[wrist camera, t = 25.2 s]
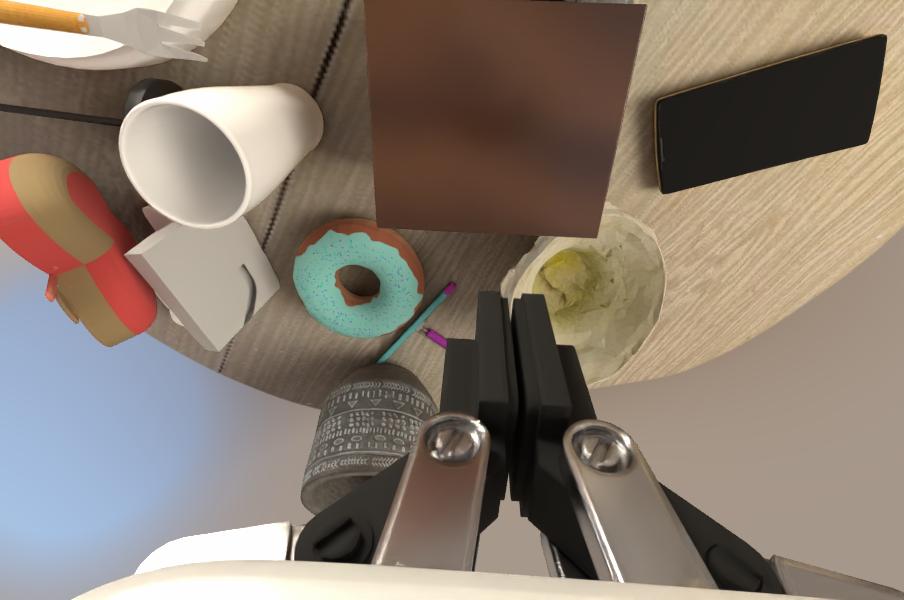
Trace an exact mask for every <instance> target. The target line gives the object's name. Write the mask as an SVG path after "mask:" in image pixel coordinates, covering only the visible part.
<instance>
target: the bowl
mask: <svg viewBox="0 0 904 600" xmlns="http://www.w3.org/2000/svg"><path fill="white" fill-rule="evenodd" d="M666 284H667V270H666V265H665V262H664V258H663V254H662V251H661V249H660V247H659V245H658V242H657V238H656V235H655V233H654V231H653V230H652V229H650V228H649V227H648V226H646V225H645V224H644V223H643V222H641V221H640V220H639V219H638V218H636V217H635V216H633V215H630V214H628V213H625V212H623V211H621V210H619V209H618V208H617V206H616V205H614V204H612V203H609V202H605V205H604V209H603V214H602V219H601V223H600V228H599V233H598V237H597V239H593V238H573V237H553V236H539V238H538V239H537V240H536V242H535V243H534V246H533V247H532V249H531V250H530V251H529V252H528V253H527V254H524V256H523V257H522V258H521V259H520V261H519V262H518V263H517V264H516V265H514V266H513V267H512V268H511V269H510V270H509V271H507V273H506V274H505V276H504V277H503V278H502V281H501V284H500V292H501V293H502V297H503V298H508V305H509V314H510V321H511V313H512V305H513V299H514V298H521V295H522V293H530V294H544V296H545V300H546V304H547V308H548V312H549V316H550V320H551V324H552V328H553V332H554V336H555V340H556V344H560V345H573V346H574V347H575V350H576V352H577V356H578V359H579V362H580V365H581V369H582V372H583V375H584V378H585V382H586V385H591V384H594V383H598V382H604V381H607V380H610V379H612V378H613V377H614V376H615V375H617V374H618V373H619V372H620V371H621V370H622V369H623V367H624V366H625V365H626V364H627V363H629V361H630V359H631V357H632V356H633V355H635V354H636V353H637V352H638V351H639V350H640V348H641V347H642V345H643V344H644V343H645V341H646V340H647V338H648V337H649V336H650V335H651V334H652V332H653V330H654V329H655V328H656V327H657V325H658V323H659V319H660V315H661V311H662V306H663V302H664V298H665V292H666Z"/></svg>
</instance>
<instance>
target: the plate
mask: <svg viewBox="0 0 904 600" xmlns="http://www.w3.org/2000/svg"><path fill="white" fill-rule="evenodd" d="M9 1H15V2H20V3H26V4H32V5H38V6H43V7H49V8H55V9H60V10H66V11H72V12H77V13H83V14H89V15H94V16H105V15H111V14H117V13H123V12H126V11H129V10H131V9H134V8H145V9H153V10H157V11H161V12H164V13H168V14H172V15H175V16H178V17H181V18H185V19H188V20H192V21H196V22H199V23H201V25H202V26H203V28H202V30H200V29H191V28H184V27H179V26H174V25H166V24H158V26H160V27H163V28H166V29H169V30H172V31H175V32H178V33H181V34H185V35H188V36H191V37H194V38H198V39H201V40H203V41H205V40H207V39H208V38H209V37H210V36H211V35H212V34H213V33H214V32H215V31H216V30H217V29H218V28H219V27H220V26H221V25H222V23H223V22H224V21H225V19H226V18H227V17H228V16H229V14H230V13H231V12H232V10H233V8H234V6H235V5H236V3H237V1H238V0H9ZM161 42H162V44H164V45H169V46H173V47H177V48H180V49H183V50H186V51H191V50H193V49H194V48H195V47H197V46H198V45H191V44H183V43H175V42H163V41H161ZM0 45H1V46H4V47H6V48H8V49H10V50H12V51H15V52H17V53H20V54H23V55H25V56H28V57H30V58H33V59H36V60H40V61H43V62H47V63H50V64H54V65H59V66H64V67H70V68H75V69H85V70H114V69H126V68H136V67H145V66H150V65H155V64H160V63H163V62H166V61H169V60H172V59H175V58H167V57H159V56H153V55H147V54H145V53H143V52H141V51H139V50H137V49H135V48H133V47H131V46H128V45H125V44H122V43H119V42H116V41H113V40H110V39H107V38H104V37H96V36H89V35H81V34H74V33H66V32H59V31H52V30H44V29H37V28H29V27H22V26H14V25H7V24H0Z"/></svg>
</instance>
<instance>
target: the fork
mask: <svg viewBox="0 0 904 600" xmlns="http://www.w3.org/2000/svg"><path fill="white" fill-rule="evenodd" d="M0 24H7V25H14V26H22V27H29V28H37V29H44V30H52V31H59V32H66V33H74V34H81V35H89V36H96V37H104V38H107V39H110V40H113V41H116V42H119V43H122V44H125V45H128V46H131V47H133V48H135V49H137V50H139V51H141V52H143V53H145V54H147V55H153V56H159V57H167V58H179V59H189V60H197V61H203V62H207V61H208V59H207V58H206V57H205V56H202V55H199V54H196V53H192V52H189V51H186V50H183V49H180V48H177V47H173V46H169V45H164V44H162V42H161V41H163V42H175V43H183V44H191V45H198V46H205V42H204V41H203V40H201V39H198V38H194V37H191V36H188V35H185V34H181V33H178V32H175V31H172V30H169V29H166V28H163V27H160V26H158V24H166V25H174V26H179V27H184V28H191V29H200V30H202V28H203V26H202V25H201V23H199V22H196V21H192V20H188V19H185V18H181V17H178V16H175V15H172V14H168V13H164V12H161V11H157V10H153V9H145V8H134V9H131V10H129V11H126V12H123V13H117V14H111V15H105V16H94V15H89V14H83V13H77V12H72V11H66V10H60V9H55V8H49V7H43V6H38V5H32V4H26V3H20V2H15V1H9V0H0Z"/></svg>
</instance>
